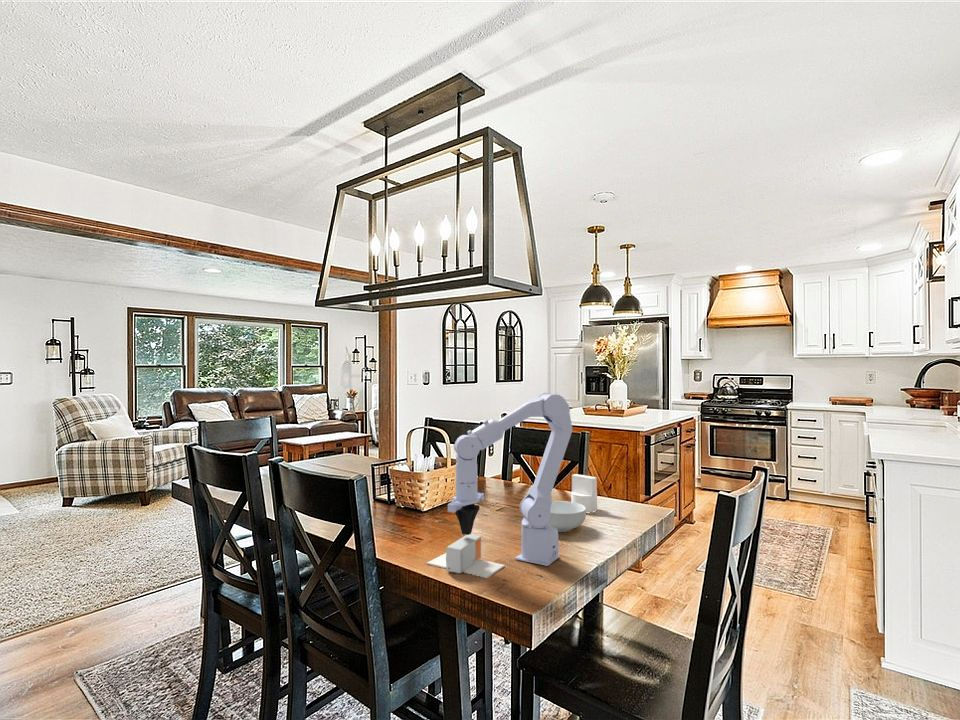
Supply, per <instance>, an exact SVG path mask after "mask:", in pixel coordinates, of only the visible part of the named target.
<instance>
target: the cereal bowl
mask: <svg viewBox="0 0 960 720" xmlns="http://www.w3.org/2000/svg"><path fill="white" fill-rule="evenodd" d="M550 511H551V518H550V521H549V526H551V527H553V528H556V529H557V531H558V533H568V532H570V531H572V530H573V529H575V528H578V527H580V526H581V525H582V524H583V523H584V522H585V520H586V516H587V514H586V507H585V506H583V505H581V504H578V503H574V502H571V501H567V500H552V504H551V508H550ZM567 531H568V532H567Z"/></svg>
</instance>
